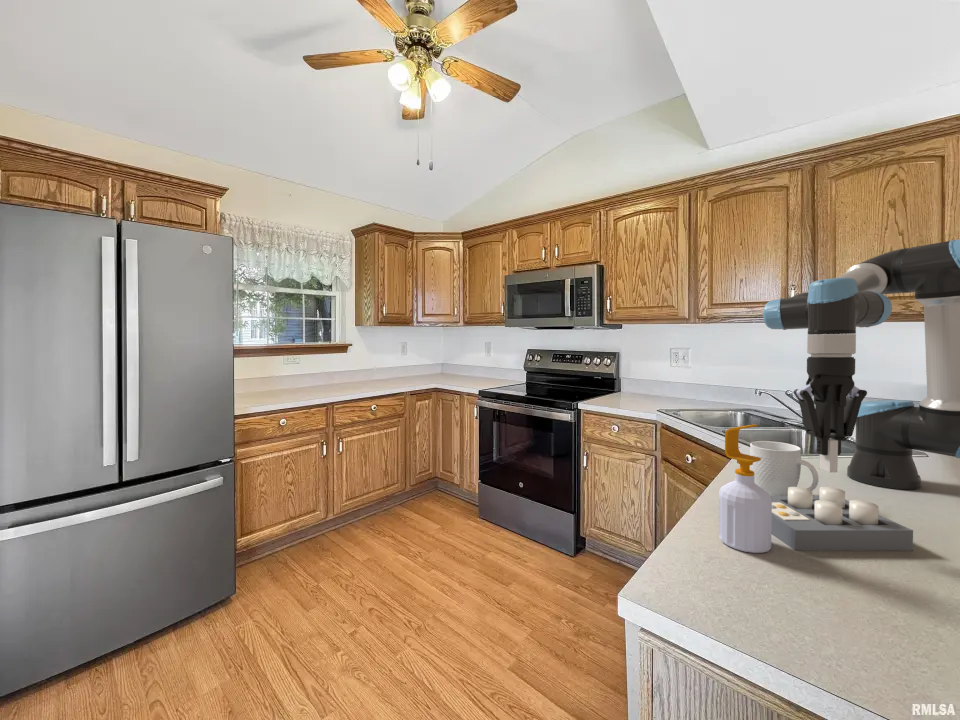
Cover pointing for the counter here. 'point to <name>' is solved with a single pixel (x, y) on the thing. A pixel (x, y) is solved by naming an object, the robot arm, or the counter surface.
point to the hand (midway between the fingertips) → (828, 470)
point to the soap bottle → (744, 503)
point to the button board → (835, 530)
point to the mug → (778, 467)
